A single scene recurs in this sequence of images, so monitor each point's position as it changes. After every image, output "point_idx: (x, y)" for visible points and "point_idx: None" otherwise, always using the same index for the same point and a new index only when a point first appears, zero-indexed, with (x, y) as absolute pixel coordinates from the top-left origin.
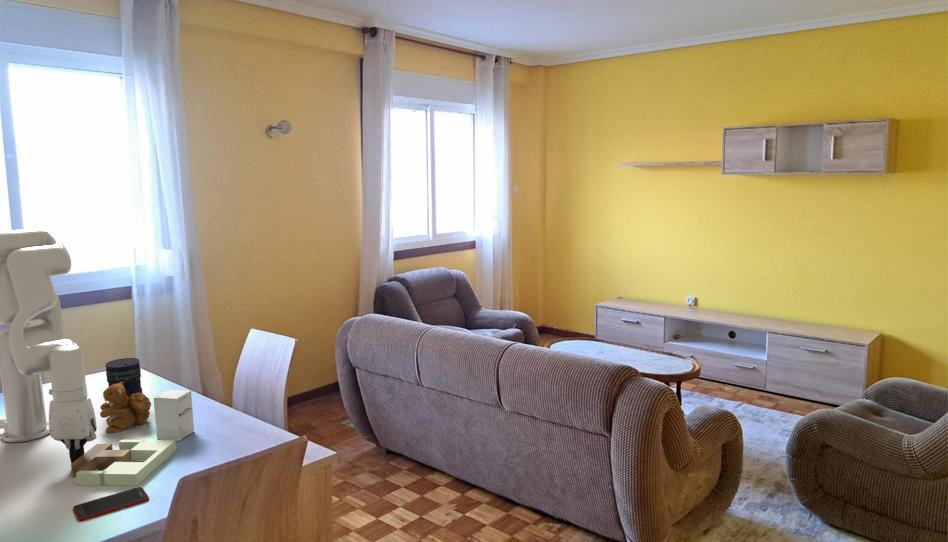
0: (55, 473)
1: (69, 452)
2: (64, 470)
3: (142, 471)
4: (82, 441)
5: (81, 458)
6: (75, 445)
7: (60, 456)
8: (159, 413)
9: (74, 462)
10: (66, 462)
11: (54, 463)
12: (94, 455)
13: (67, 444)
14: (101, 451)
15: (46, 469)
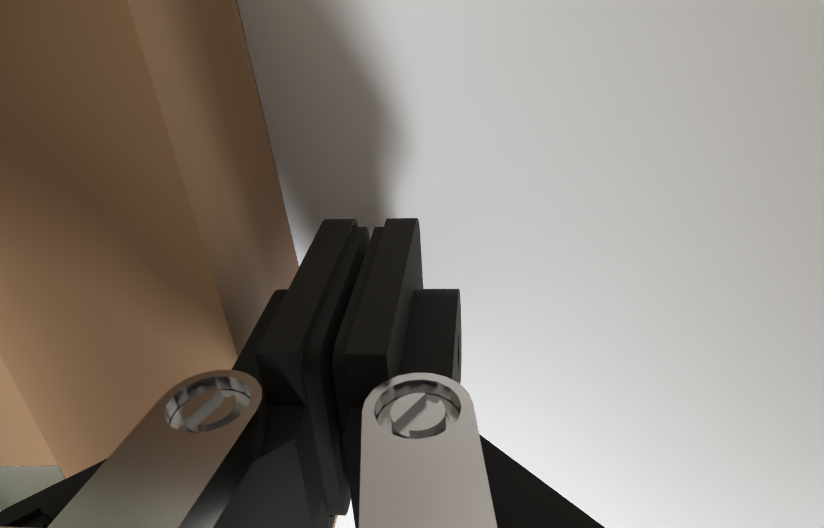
0: (576, 34)
1: (449, 350)
2: (500, 137)
3: None
4: (39, 522)
5: (124, 201)
6: (222, 428)
7: (790, 472)
8: None
9: (101, 27)
10: (621, 345)
11: (771, 318)
12: (20, 313)
13: (420, 451)
14: (46, 428)
15: (797, 151)
